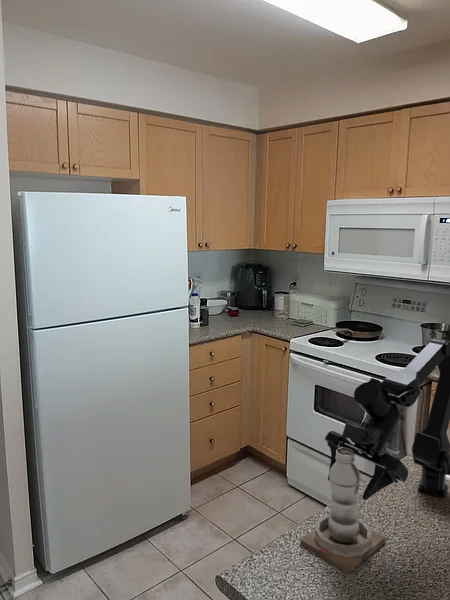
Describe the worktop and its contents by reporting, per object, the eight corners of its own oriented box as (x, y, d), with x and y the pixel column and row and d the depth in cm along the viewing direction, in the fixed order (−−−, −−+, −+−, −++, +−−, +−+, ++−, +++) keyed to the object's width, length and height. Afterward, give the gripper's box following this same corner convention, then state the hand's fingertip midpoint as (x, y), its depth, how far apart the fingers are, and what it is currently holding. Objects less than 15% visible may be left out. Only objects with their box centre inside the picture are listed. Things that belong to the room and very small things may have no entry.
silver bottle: (339, 523, 108) (340, 441, 105) (365, 538, 103) (367, 452, 100) (321, 536, 104) (322, 451, 101) (347, 552, 99) (349, 462, 95)
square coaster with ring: (338, 517, 113) (338, 505, 112) (384, 542, 104) (385, 528, 103) (300, 544, 103) (300, 530, 103) (347, 573, 94) (348, 558, 94)
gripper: (330, 397, 110) (295, 456, 105) (402, 422, 95) (365, 493, 90) (352, 420, 116) (320, 477, 111) (423, 448, 101) (389, 515, 96)
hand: (345, 489), depth 102 cm, fingers open, 9 cm apart
